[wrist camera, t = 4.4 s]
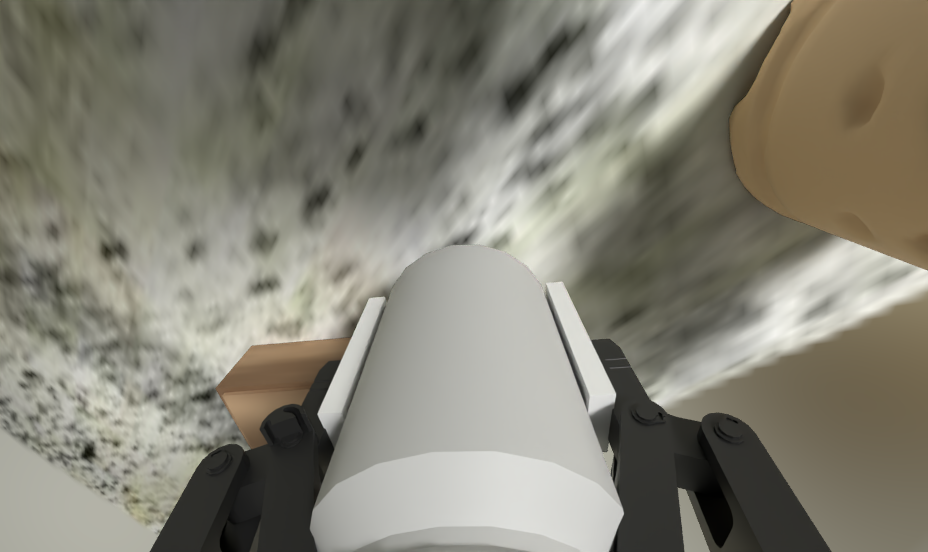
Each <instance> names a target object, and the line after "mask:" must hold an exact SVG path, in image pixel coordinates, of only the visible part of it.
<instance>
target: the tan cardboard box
mask: <svg viewBox="0 0 928 552" xmlns="http://www.w3.org/2000/svg"><path fill="white" fill-rule="evenodd" d="M351 338H352V337H351ZM351 338H339V339H327V340H315V341H303V342H291V343H280V344H268V345H256V346H251V347H250V348H249V349H248V351H247V352H246V353H245V354H244V355H243V357H242V358H241V359H240V360H239V361H238V362H237V364H236V365H235V366H234V367H233V368H232V369H231V371H230V372H229V373H228V374H227V375H226V377H225V378H224V379H223V380H222V381H221V382H220V384H219V385H218V386H217V387H216V388H215V389H216V390H217V392H218V394H219V395H220V397H221V399H222V401H223V402H224V404H225V406H226V407H227V409H228V411H229V412H230V414H231V416H232V418H233V419H234V421H235V423H236V424H237V426H238V428H239V429H240V431H241V433H242V435H243V436H244V438H245V440H246V441H247V443H248V445H249V446H250V448H251V449H254V448H257V447H260V446H263V445H265V444H268V443H267V441H266V440H265V438H264V436H263V435H262V433H261V431H260V430H259V429H260V426H261V424H262V422H263V420H264V419H265V418H266V417H267V416H268V415H269V414H270V413H271V412H273V411H274V410H275V409H277V408H280V407H282V406H284V405H289V404H298V405H300V406H301V405H302V403H303V401H304V399H305V397H306V395H307V393H308V392H309V391H310V390H309V389H310V387H311V385H312V383H314V379H315V377H316V376H317V374H318V372H319V370H320V369H321V368H322V367H323V366H324V365H325V364H326V363H327V362H328V361H334V360H342V358H343V356H344V353H345V351H346V349H347V347H348V345H349V342H350V340H351Z"/></svg>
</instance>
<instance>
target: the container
mask: <svg viewBox="0 0 928 552" xmlns="http://www.w3.org/2000/svg"><path fill="white" fill-rule="evenodd" d="M729 130H730V144H731V150H732V155H733V159H734V164H735V167H736V170H737V171H736V174H737V176H738V177H739V178H740V180H741V182H742V183H743V185H744V186H745V188H746V189H747V190H748V191H749V192H750V193H751V194H752V195H753V196H754V197H755V198H756V199H757V200H759V201H760V202H761V203H763V204H764V205H765V206H767V207H769V208H771V209H772V210H774V211H775V212H777V213H779V214H781V215H783V216H785V217H788V218H791V219H793V220H796V221H798V222H802V223H805V224H807V225H810V226H812V227H815V228H817V229H820V230H823V231H825V232H828V233H830V234H833V235H835V236H838V237H841V238H843V239H846V240H849V241H851V242H854V243H857V244H859V245H862V246H865V247H867V248H870V249H873V250H875V251H878V252H880V253H883V254H886V255H888V256H891V257H894V258H896V259H899V260H902V261H904V262H907V263H909V264H912V265H915V266H917V267H920V268H922V269H925V270H928V0H793V1H792V3H791V13H790V14H789V16H788V18H787V20H786V21H785V23H784V25H783V26H782V29H781V32H780V34H779V35H778V37H777V39H776V40H775V42H774V44H773V46H772V47H771V49H770V51H769V53H768V55H767V56H766V58H765V60H764V62H763V64H762V66H761V68H760V71H759V73H758V75H757V77H756V79H755V81H754V83H753V85H752V87H751V88H750V90H749V92H748V93H747V95H746V96H745V97H744V98H743V99H742V100H741V101H740V102H739V103H738V104H737V105H736V106H735V107H734V109H733V111H732V113H731V116H730V118H729Z"/></svg>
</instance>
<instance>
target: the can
mask: <svg viewBox="0 0 928 552" xmlns="http://www.w3.org/2000/svg"><path fill="white" fill-rule="evenodd" d="M623 515H624V511H623V508H622V505H621V502H620V500H619V497H618V494H617V491H616V489H615V486H614V483H613V480H612V478H611V475H610V472H609V470H608V467H607V464H606V461H605V458H604V456H603V453H602V450H601V447H600V445H599V442H598V439H597V437H596V434H595V431H594V428H593V426H592V423H591V420H590V417H589V415H588V412H587V409H586V406H585V404H584V401H583V398H582V395H581V393H580V390H579V387H578V384H577V382H576V379H575V376H574V374H573V371H572V368H571V365H570V363H569V360H568V357H567V354H566V352H565V349H564V346H563V343H562V341H561V338H560V335H559V332H558V330H557V327H556V324H555V321H554V319H553V316H552V313H551V311H550V308H549V305H548V302H547V300H546V297H545V294H544V291H543V289H542V286H541V284H540V283H539V281H538V280H537V279H536V277H535V276H534V275H533V273H532V272H531V271H530V269H529V268H528V267H527V266H526V265H525V264H523V263H522V262H520V261H519V260H517V259H516V258H514V257H513V256H511V255H510V254H508V253H506V252H504V251H500V250H497V249H493V248H490V247H486V246H482V245H451V246H448V247H445V248H442V249H438V250H435V251H432V252H429V253H426V254H425V255H423V256H422V257H421V258H419V259H418V260H416V261H415V262H414V263H412V264H411V265H409V266H408V267H406V269H405V270H404V271H403V273H402V274H401V276H400V277H399V279H398V280H397V281H396V283H395V284H394V286H393V288H392V291H391V293H390V296H389V299H388V302H387V304H386V307H385V310H384V313H383V316H382V318H381V321H380V324H379V327H378V330H377V332H376V335H375V338H374V341H373V344H372V346H371V349H370V352H369V355H368V357H367V360H366V363H365V366H364V369H363V371H362V374H361V377H360V380H359V383H358V385H357V388H356V391H355V394H354V397H353V399H352V402H351V405H350V408H349V410H348V413H347V416H346V419H345V422H344V424H343V427H342V430H341V433H340V436H339V438H338V441H337V444H336V447H335V450H334V452H333V455H332V458H331V461H330V463H329V466H328V469H327V472H326V475H325V477H324V480H323V483H322V486H321V489H320V491H319V494H318V497H317V500H316V503H315V505H314V508H313V512H312V518H311V524H310V531H311V533H312V535H313V537H314V540H315V544H316V548H317V552H615V548H616V540H617V531H618V526H619V524H620V521H621V519H622V517H623Z"/></svg>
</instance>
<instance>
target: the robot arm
mask: <svg viewBox="0 0 928 552" xmlns="http://www.w3.org/2000/svg"><path fill="white" fill-rule="evenodd" d="M546 300H547V302H548V305H549V308H550V311H551V313H552V316H553V319H554V321H555V324H556V327H557V330H558V332H559V335H560V338H561V341H562V343H563V346H564V349H565V352H566V354H567V357H568V360H569V363H570V365H571V368H572V371H573V374H574V376H575V379H576V382H577V384H578V387H579V390H580V393H581V395H582V398H583V401H584V404H585V406H586V409H587V412H588V415H589V417H590V420H591V423H592V426H593V428H594V431H595V434H596V437H597V439H598V442H599V445H600V447H601V450H602V452H607V451H608V450H607V449H608V444H609V443H610V445H611V448H612V451H613V453H614V457H613V463H612V469H611V477H612V480H613V483H614V486H615V489H616V491H617V494H618V497H619V500H620V502H621V505H622V508H623V511H624V515H623V517H622V519H621V521H620V524H619V526H618V531H617V540H616V548H615V552H684V544H683V535H682V525H681V517H680V507H679V497H678V488H682V489H686V491H687V493H688V496H689V498H690V501H691V504H692V506H693V509H694V511H695V514H696V516H697V519H698V522H699V524H700V527H701V529H702V532H703V535H704V537H705V540H706V542H707V545H708V547H709V550H710V552H831V550H830V549H829V547H828V546H827V544H826V542H825V541H824V539H823V538H822V536H821V535H820V533H819V532H818V530H817V528H816V527H815V525H814V524H813V522H812V521H811V519H810V518H809V516H808V515H807V513H806V511H805V510H804V508H803V507H802V505H801V504H800V502H799V501H798V499H797V497H796V496H795V494H794V493H793V491H792V489H791V488H790V486H789V485H788V483H787V482H786V480H785V479H784V477H783V476H782V474H781V472H780V471H779V469H778V468H777V466H776V465H775V463H774V461H773V460H772V458H771V457H770V455H769V454H768V452H767V450H766V449H765V447H764V446H763V444H762V443H761V441H760V440H759V438H758V437H757V435H756V434H755V432H754V431H753V430H752V429H751V428H750V427H749V426H748V425H747V424H745V423H744V422H742V421H741V420H740V419H738V418H735V417H733V416H731V415H728V414H723V413H710V414H708V415H706V416H704V417H703V419H702V422H698V421H693V420H688V419H683V418H679V417H675V416H672V415H670V414H667V413H666V412H665V410H664V409H663V408H662V407H661V406H659V405H657V404H656V403H654V402H652V401H651V400H650V399H649V397H648V396H647V394H646V392H645V390H644V389H643V387H642V385H641V383H640V382H639V380H638V378H637V376H636V375H635V373H634V371H633V370H632V368H631V367H630V364H629V363H628V361H627V359H626V357H625V356H624V354H623V352H622V350H621V349H620V347H619V346H618V345H616V344H615V343H614V342H613V341H611V340H610V339H600V340H590V338H589V336H588V334H587V332H586V330H585V328H584V325H583V323H582V321H581V319H580V317H579V315H578V313H577V311H576V309H575V307H574V305H573V302H572V300H571V298H570V296H569V294H568V292H567V290H566V288H565V286H564V284H563V281H562V282H551V283H546ZM386 304H387V302H386V298H385V297H376V298H369V300H368V302H367V304H366V307H365V309H364V311H363V313H362V316H361V318H360V320H359V322H358V324H357V327H356V329H355V331H354V333H353V336H352V338H351V340H350V342H349V345H348V347H347V349H346V351H345V353H344V356H343V358H342V360H334V361H328V362H327V363H326V364H325V365H324V366H323V367H322V368H321V369H320V370H319V372H318V374H317V376H316V377H315V379H314V383H312V385H311V387H310V389H309V390H310V391H309V392H308V393H307V395H306V397H305V399H304V401H303V403H302V405H301V406H300V405H298V404H289V405H284V406H282V407H280V408H277V409H275V410H274V411H273V412H271V413H270V414H269V415H268V416H267V417H266V418H265V419H264V420H263V422H262V424H261V426H260V429H259V430H260V431H261V433H262V435H263V436H264V438H265V440H266V441H267V443H268V444H265V445H263V446H260V447H257V448H254V449H251V450H248V451H245V452H244V450H243V448H242V447H241V446H239V445H237V444H228V445H225V446H222V447H220V448H218V449H216V450H215V451H213V452H211V453H210V454H209V455H208V456H207V457H205V458H204V459H203V460H202V462H201V463H200V464H199V466H198V467H197V468H196V470H195V472H194V474H193V476H192V477H191V479H190V481H189V483H188V484H187V486H186V488H185V490H184V492H183V493H182V495H181V497H180V499H179V501H178V502H177V504H176V506H175V508H174V509H173V511H172V513H171V515H170V517H169V518H168V520H167V522H166V524H165V526H164V527H163V529H162V531H161V533H160V534H159V536H158V538H157V540H156V542H155V543H154V545H153V547H152V549H151V551H150V552H317V548H316V544H315V540H314V537H313V535H312V533H311V531H310V524H311V518H312V512H313V508H314V505H315V503H316V500H317V497H318V494H319V491H320V489H321V486H322V483H323V480H324V477H325V475H326V472H327V469H328V466H329V463H330V461H331V458H332V455H333V452H334V450H335V447H336V444H337V441H338V438H339V436H340V433H341V430H342V427H343V424H344V422H345V419H346V416H347V413H348V410H349V408H350V405H351V402H352V399H353V397H354V394H355V391H356V388H357V385H358V383H359V380H360V377H361V374H362V371H363V369H364V366H365V363H366V360H367V357H368V355H369V352H370V349H371V346H372V344H373V341H374V338H375V335H376V332H377V330H378V327H379V324H380V321H381V318H382V316H383V313H384V310H385V307H386ZM677 487H678V488H677Z"/></svg>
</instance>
